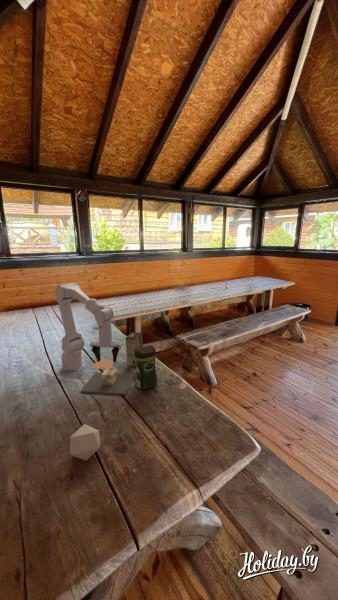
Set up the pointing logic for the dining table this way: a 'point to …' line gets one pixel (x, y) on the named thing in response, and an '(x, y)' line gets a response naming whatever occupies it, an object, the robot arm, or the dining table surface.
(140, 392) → the dining table surface
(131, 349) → the coffee box
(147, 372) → the coffee jar
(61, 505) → the dining table surface
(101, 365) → the tile
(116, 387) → the mat
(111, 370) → the birch block
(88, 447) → the die
